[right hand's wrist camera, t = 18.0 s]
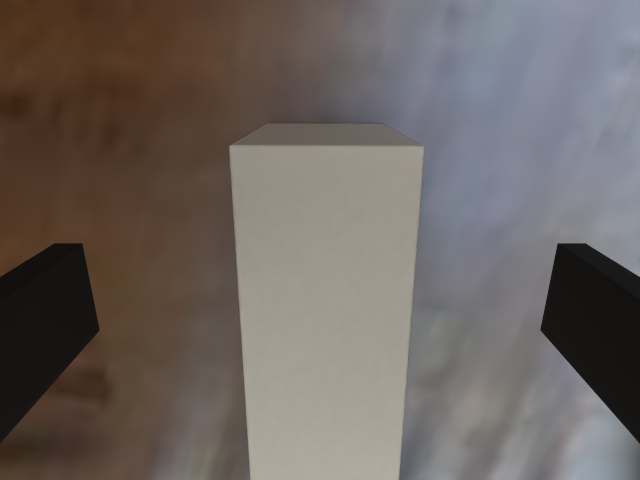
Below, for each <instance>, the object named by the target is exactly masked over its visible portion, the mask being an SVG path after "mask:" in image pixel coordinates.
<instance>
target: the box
mask: <svg viewBox="0 0 640 480" xmlns="http://www.w3.org/2000/svg"><path fill="white" fill-rule="evenodd" d="M424 150H425V148H424V146H423V145H421V144H420V143H418V142H416V141H414V140H412V139H411V138H409V137H407V136H405V135H403V134H402V133H400V132H398V131H396V130H394V129H393V128H391V127H389V126H387V125H385V124H345V123H268V124H266V125H264V126H262V127H260V128H259V129H257V130H255V131H254V132H252V133H250V134H248V135H247V136H245V137H243V138H242V139H240V140H238V141H236V142H235V143H233V144H231V145H230V146H229V157H230V172H231V187H232V203H233V218H234V234H235V249H236V265H237V280H238V295H239V311H240V326H241V342H242V357H243V373H244V388H245V403H246V419H247V434H248V450H249V465H250V480H399V473H400V460H401V447H402V434H403V421H404V408H405V395H406V382H407V370H408V357H409V344H410V331H411V318H412V305H413V292H414V279H415V266H416V253H417V241H418V228H419V215H420V202H421V189H422V176H423V163H424Z"/></svg>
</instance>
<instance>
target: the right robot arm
mask: <svg viewBox="0 0 640 480" xmlns="http://www.w3.org/2000/svg"><path fill="white" fill-rule="evenodd" d="M98 331H99V325H98V320H97V315H96V310H95V305H94V300H93V295H92V290H91V285H90V280H89V275H88V270H87V265H86V260H85V255H84V250H83V245H82V244H53V245H51V246H50V247H48V248H46V249H45V250H43V251H42V252H40V253H38V254H37V255H35V256H34V257H32V258H30V259H29V260H27V261H25V262H24V263H22V264H21V265H19V266H17V267H16V268H14V269H13V270H11V271H9V272H8V273H6V274H4V275H3V276H1V277H0V443H1V442H2V441H3V440H4V438H5V437H6V436H7V435H8V434H9V433H10V432H11V430H12V429H13V428H14V427H15V426H16V425H17V424H18V423H19V421H20V420H21V419H22V418H23V417H24V416H25V415H26V413H27V412H28V411H29V410H30V409H31V408H32V407H33V405H34V404H35V403H36V402H37V401H38V400H39V399H40V397H41V396H42V395H43V394H44V393H45V392H46V391H47V389H48V388H49V387H50V386H51V385H52V384H53V383H54V382H55V380H56V379H57V378H58V377H59V376H60V375H61V374H62V372H63V371H64V370H65V369H66V368H67V367H68V366H69V364H70V363H71V362H72V361H73V360H74V359H75V358H76V356H77V355H78V354H79V353H80V352H81V351H82V350H83V348H84V347H85V346H86V345H87V344H88V343H89V342H90V341H91V339H92V338H93V337H94V336H95V335H96V334H97V333H98ZM541 331H542V333H543V334H544V335H545V336H546V337H547V338H548V339H549V341H550V342H551V343H552V344H553V345H554V346H555V347H556V348H557V350H558V351H559V352H560V353H561V354H562V355H563V356H564V358H565V359H566V360H567V361H568V362H569V363H570V364H571V366H572V367H573V368H574V369H575V370H576V371H577V372H578V374H579V375H580V376H581V377H582V378H583V379H584V380H585V382H586V383H587V384H588V385H589V386H590V387H591V388H592V389H593V391H594V392H595V393H596V394H597V395H598V396H599V397H600V399H601V400H602V401H603V402H604V403H605V404H606V405H607V407H608V408H609V409H610V410H611V411H612V412H613V413H614V415H615V416H616V417H617V418H618V419H619V420H620V421H621V423H622V424H623V425H624V426H625V427H626V428H627V429H628V430H629V432H630V433H631V434H632V435H633V436H634V437H635V438H636V440H637V441H638V442H639V443H640V277H639V276H637V275H636V274H634V273H632V272H631V271H629V270H627V269H626V268H624V267H623V266H621V265H619V264H618V263H616V262H615V261H613V260H611V259H610V258H608V257H606V256H605V255H603V254H602V253H600V252H598V251H597V250H595V249H594V248H592V247H590V246H589V245H587V244H558V245H557V250H556V255H555V260H554V265H553V270H552V275H551V280H550V285H549V290H548V295H547V300H546V305H545V310H544V315H543V320H542V325H541Z"/></svg>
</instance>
